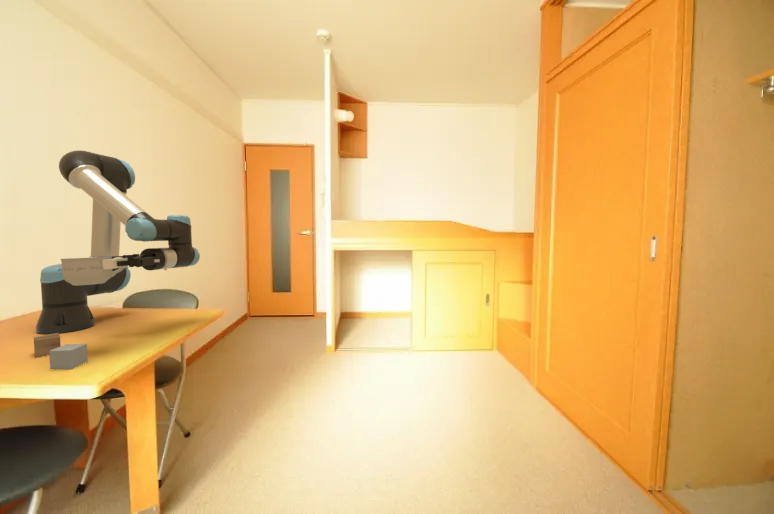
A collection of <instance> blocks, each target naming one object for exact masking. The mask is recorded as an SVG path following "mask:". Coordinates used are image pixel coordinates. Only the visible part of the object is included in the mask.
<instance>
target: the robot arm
mask: <svg viewBox="0 0 774 514" xmlns="http://www.w3.org/2000/svg"><path fill="white" fill-rule="evenodd" d="M58 169H59V173H60V175H61V176H62V177H63V179H64V180H66V182H67V183H69V184H70V185H71V186H72V187H74V188H76V189H81V190H82V191H83V192H84V193H86V194H87V195H88V196H89V197H91V198H92V211H91V212H92V213H91V217H92V218H91V236H90V237H91V239H90V255H89V256H88V257H87V258H94V257H112V259H105V260H102V269H112V271H115V270H118V269H119V268H125V269H123V270H122V271H120V272H119V273H117V274H115V276H114V277H111V278H110V279H108V280H107V281H106V282H105V283H102V284H92V285H77V286H75V285H72V284H70V283H68V282H67V281H65V280H64V278H63V273H62V263H58V264H52V265H48V266H45V267H44V268H42V269H41V271H40V279H39V282H40V287H41V288H40V291H41V308H42V309H41V312H40V315H39V317H38V320H37V322H36V326H35V332H36V334H39V335H40V334H42V335H48V334H55V333H59V334H61V333H63V334H64V333H70V332H71V333H72V332H77V331H80V330H85V329H88V328H92V327H93V326H95V325H94V324H96V323H95V316H94V314H93V313H92V310H90V307H89V303H88V297H89V296H96V295H97V296H98V295H102V294H111V293H114V292H119V291H121V290H123V289H124V288H126V287H127V286H128V284H129V283H130V280H131V270H130V269H129V268H135V267H136V268H141V267H142V268H143V269H144V270H145V271H157V270H164V271H168V269H176V268H177V269H178V268H187V267H193V266H195V265H196V264H198V262H199V261H200V258H201V257H200V252H199V250H198V249H197V248H196V247H194V246H193V240H192V224H191V223H192V222H191V218H190V216H188V215H181V214H176V215H175V214H171V215H167V217H166V219H156V218H154V217H153V216H151V215H150V214H149V213H147V212H146V211H145V210H144V209H143V208H141V207H140V206H139V205H138V204H137V203H136V202H134V201H133V199H131V198H129V197H128V196H127V193H128V191H127V190H130V189H132V187H133V186H134V184H135V182H136V173H135V171H134V169H133V168H132V166H131V164H129V163H128V162H127V161H125V160H122V159H119V158H117V157H113V156H109V155H108V156H107V155H104V154H99V153H94V152H91V151H88V150H87V151H86V150H72V151H69V152H67V153H65V154H63V156H62V157H61V158H60V160H59V161H58ZM121 224H122V225H124V230H125V233H126V235H127V237H128V238H129V239H131V241H135V242H145V243H146V242H166V241H167V243H168V247H157V248H156V247H153V248H151V247H150V248H145V249H143V250H142V251H141V252H140V253H133V254H124V255H120V245H121V243H120V241H121ZM116 257H122V258H121V259H113V258H116Z"/></svg>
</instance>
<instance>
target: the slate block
mask: <svg viewBox="0 0 774 514" xmlns="http://www.w3.org/2000/svg"><path fill="white" fill-rule="evenodd" d="M88 360H89V358H88V344H87V343H69V344H68V343H67V344H63V345H61V347H58V348H55V349H53V350H50V351H49V370H50V369H63V370H73V368H74V369H76V368H77V366H78V367H79V365H80V366H81V364H82V365H84V364H86V363H87V361H88ZM85 362H86V363H85ZM83 363H84V364H83ZM75 367H76V368H75Z"/></svg>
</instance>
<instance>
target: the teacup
mask: <svg viewBox="0 0 774 514" xmlns="http://www.w3.org/2000/svg"><path fill="white" fill-rule="evenodd" d="M121 258H122V257H116V258H113V259H121ZM105 259H112V257H94V258H88V257H74V258H73V257H72V258H71V257H70V258H60V261H61V264H62V273H63V278H64V280H65V281H67V282H68V283H70V284H72V285H75V286H77V285H92V284H102V283H105V282H106V281H107V280H108V279H110V278H111V277H114V276H115V274H117V273H119V272H120V271H122V270H123V269H125V268H119V269H118V270H115V271H112V269H102V260H105Z"/></svg>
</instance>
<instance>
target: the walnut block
mask: <svg viewBox="0 0 774 514" xmlns="http://www.w3.org/2000/svg"><path fill="white" fill-rule="evenodd" d="M61 346H62V345H61V335H60V333H54V334H42V335H36V336H33V348H34V350H33V351H34V358H35V359H37V357H38V358H42V356H44V357H48V356H47V355H49V351H50V350H53V349H55V348H58V347H61Z"/></svg>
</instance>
